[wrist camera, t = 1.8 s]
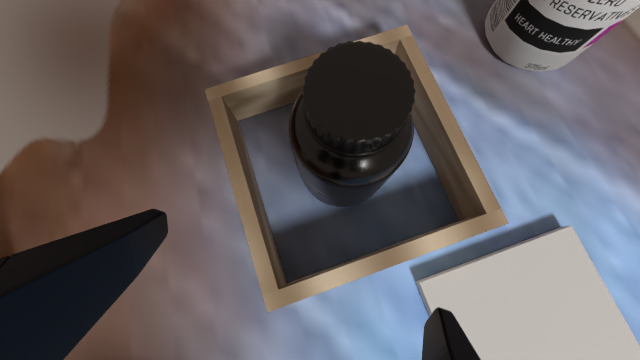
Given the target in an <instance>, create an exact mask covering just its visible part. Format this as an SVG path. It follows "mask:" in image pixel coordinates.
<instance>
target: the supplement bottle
mask: <svg viewBox="0 0 640 360" xmlns="http://www.w3.org/2000/svg"><path fill="white" fill-rule="evenodd" d="M415 92H416V90H415V88H414V80H413V78H412V77H411V71H410V70H409V69H407V67H406V64H405V62H403V61H402V60H400V58H399V56H398V55H396V54H394V53H393V52H392V51H391V50H390V49H387V48H384V47H383V46H382V45H379V44H373V43H372V42H362V41H356V42H351V41H349V42H346V43H344V44H342V43H341V44H338V45H336V46H335V47H330V48H329V49H328V50H327V51H326V52H323V53H321V54H320V55H319V57H318V58H317V59H315V60H314V61H313V64H312V66H311V67H309V68H308V74H307V75H306V76H305V78H304V86H303V89H302V92H301V93H300V95H299V96H298V97H297V99H296V101H295V103H294V105H293V108H292V111H291V114H290V119H289V136H290V141H291V145H292V149H293V152H294V155H295V158H296V161H297V165H298V168H299V171H300V174H301V177H302V179H303V182H304V184H305V186H306V187H307V189H308V190H309V191H310V193H311V194H312V195H313V196H314V197H316V198H317V199H318V200H320V201H321V202H323V203H326V204H328V205H331V206H336V207H350V206H355V205H358V204H360V203H363V202H364V201H366V200H368V199H369V198H370V197H371V196H373V195H374V194H375V193H376V192H377V191H378V190H379V189H380V187H381V186H382V185H383V184H384V183H385V182H386V181H387V180H388V179H389V178H390V177H391V176H392V174H393V173H394V172H395V171H396V170H397V169H398V168H399V167H400V165H401V164H402V163H403V161H404V160H405V158H406V156H407V155H408V153H409V150H410V148H411V145H412V141H413V135H414V122H413V116H412V107H413V105H414V103H415V98H414V95H415Z"/></svg>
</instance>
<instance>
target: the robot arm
mask: <svg viewBox="0 0 640 360" xmlns="http://www.w3.org/2000/svg"><path fill="white" fill-rule="evenodd" d="M167 233H168V224H167V215H166V213H165V212H163V211H160V210H157V209H150V210H147V211H144V212H141V213H138V214H135V215H132V216H129V217H126V218H123V219H120V220H117V221H114V222H111V223H107V224H104V225H101V226H98V227H95V228H92V229H89V230H86V231H83V232H80V233H77V234H74V235H71V236H68V237H65V238H62V239H59V240H55V241H52V242H49V243H46V244H43V245H40V246H37V247H34V248H31V249H28V250H25V251H22V252H19V253H16V254H13V255H11V256H6V257H3V258H0V360H63V359H64V358H65V357H66V356H67V355H68V354H69V353H70V352H71V350H72V349H73V348H74V347H75V346H76V345H77V344H78V343H79V341H80V340H81V339H82V338H83V337H84V336H85V335H86V334H87V332H88V331H89V330H90V329H91V328H92V327H93V326H94V325H95V323H96V322H97V321H98V320H99V319H100V318H101V317H102V316H103V314H104V313H105V312H106V311H107V310H108V309H109V308H110V307H111V305H112V304H113V303H114V302H115V301H116V300H117V299H118V298H119V296H120V295H121V294H122V293H123V292H124V291H125V290H126V289H127V287H128V286H129V285H130V284H131V283H132V282H133V281H134V279H135V278H136V277H137V276H138V275H139V273H140V272H141V271H142V269H143V268H144V267H145V265H146V264H147V263H148V261H149V260H150V258H151V257H152V256H153V254H154V253H155V252H156V250H157V249H158V247H159V246H160V245H161V243H162V242H163V241H164V239H165V238H166V236H167ZM422 360H481V359H480V357H479V356H478V354H477V352H476V351H475V349H474V347H473V346H472V344H471V342H470V341H469V339H468V338H467V336H466V334H465V333H464V331H463V329H462V328H461V326H460V324H459V323H458V321H457V319H456V318H455V316H454V314H453V313H452V312H451V311H449V310H446V309H443V308H440V307H437V308H436V309H435V310H434V311H433V313H432V314H431V316H430V317H429V318H428V320H427V321H426V323H425V326H424V336H423V350H422Z"/></svg>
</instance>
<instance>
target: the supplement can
mask: <svg viewBox="0 0 640 360" xmlns="http://www.w3.org/2000/svg"><path fill="white" fill-rule="evenodd" d="M639 7H640V0H495V2H494V3H493V5H492V6H491V8H490V9H489V11H488V14H487V17H486V20H485V33H486V37H487V39H488V42H489V43H490V45H491V47H492V49H493V51H494V53H496V54H497V55H498V56H499V57H500V58H501V59H502V60H503V61H504V62H506V63H508V64H510V65H512V66H514V67H516V68H520V69H525V70H531V71H537V72H540V71H548V70H555V69H557V68H559V67H561V66H563V65H565V64H567V63H569V62H570V61H572V60H573V59H574V58H575V57H577V56H578V55H579V54H581V53H582V52H583V51H584V50H586V49H587V48H588V47H589V46H591V45H592V44H593V43H594V42H596V41H597V40H598V39H600V38H601V37H602V36H603V35H605V34H606V33H607V32H608V31H610V30H611V29H612V28H614V27H615V26H616V25H617V24H619V23H620V22H621V21H622V20H624V19H625V18H626V17H627V16H629V15H630V14H631V13H632V12H634V11H635V10H636V9H638V8H639Z"/></svg>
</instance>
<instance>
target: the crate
mask: <svg viewBox="0 0 640 360" xmlns="http://www.w3.org/2000/svg"><path fill="white" fill-rule="evenodd" d="M357 41H362V42H372V43H373V44H379V45H382V46H383V47H384V48H387V49H390V50H391V51H392V52H393V53H394V54H396V55H398V56H399V58H400V60H402V61H403V62H405V64H406V67H407V69H409V70H410V71H411V77H412V78H413V80H414V88H415V90H416V92H415V95H414V98H415V103H414V105H413V107H412V116H413V122H414V125H415V127H416V129H417V132H418V134H419V136H420V138H421V140H422V142H423V144H424V147H425V149H426V151H427V153H428V155H429V157H430V159H431V161H432V164H433V166H434V168H435V170H436V172H437V174H438V176H439V178H440V181H441V183H442V185H443V187H444V189H445V191H446V193H447V195H448V198H449V200H450V202H451V204H452V206H453V208H454V210H455V212H456V215H457V217H458V219H459V221H456V222H453V223H451V224H448V225H445V226H442V227H440V228H437V229H434V230H431V231H429V232H426V233H423V234H420V235H418V236H415V237H412V238H410V239H407V240H404V241H401V242H399V243H396V244H393V245H390V246H388V247H385V248H382V249H379V250H377V251H374V252H371V253H368V254H366V255H363V256H360V257H357V258H355V259H352V260H349V261H347V262H344V263H341V264H338V265H336V266H333V267H330V268H327V269H325V270H322V271H319V272H316V273H314V274H311V275H308V276H305V277H303V278H300V279H297V280H294V281H292V282H289V283H287V281H286V278H285V274H284V271H283V268H282V264H281V261H280V258H279V255H278V251H277V248H276V245H275V241H274V238H273V235H272V231H271V228H270V225H269V222H268V218H267V215H266V212H265V208H264V205H263V202H262V199H261V195H260V192H259V189H258V185H257V182H256V179H255V176H254V172H253V169H252V166H251V162H250V159H249V156H248V152H247V149H246V146H245V143H244V139H243V136H242V133H241V129H240V126H239V123H238V121H239V120H242V119H245V118H248V117H251V116H254V115H257V114H260V113H263V112H266V111H269V110H272V109H275V108H278V107H281V106H285V105H288V104H291V103H294V102H295V101H296V99H297V97H298V96H299V95H300V93H301V92H302V89H303V86H304V78H305V76H306V75H307V74H308V68H309V67H311V66H312V64H313V61H314V60H315V59H317V58H318V57H319V55H320V54H321V53H323V52H326V51H327V50H326V51H323V52H320V53H316V54H313V55H310V56H307V57H304V58H301V59H298V60H295V61H291V62H288V63H285V64H282V65H279V66H276V67H273V68H270V69H266V70H263V71H260V72H257V73H254V74H251V75H248V76H244V77H241V78H238V79H235V80H232V81H229V82H226V83H223V84H219V85H216V86H213V87H210V88H207V89H205V92H206V95H207V99H208V102H209V106H210V110H211V113H212V117H213V120H214V124H215V127H216V131H217V135H218V138H219V142H220V145H221V149H222V152H223V156H224V159H225V163H226V167H227V170H228V174H229V177H230V181H231V184H232V188H233V192H234V195H235V199H236V202H237V206H238V209H239V213H240V216H241V220H242V224H243V227H244V231H245V234H246V238H247V241H248V245H249V249H250V252H251V256H252V259H253V263H254V266H255V270H256V273H257V277H258V281H259V284H260V288H261V291H262V295H263V298H264V302H265V306H266V309H267V312H270V311H272V310H275V309H278V308H281V307H283V306H286V305H289V304H291V303H294V302H297V301H299V300H302V299H305V298H308V297H310V296H313V295H316V294H318V293H321V292H324V291H327V290H329V289H332V288H335V287H337V286H340V285H343V284H345V283H348V282H351V281H354V280H356V279H359V278H362V277H364V276H367V275H370V274H373V273H375V272H378V271H381V270H383V269H386V268H389V267H391V266H394V265H397V264H400V263H402V262H405V261H408V260H410V259H413V258H416V257H418V256H421V255H424V254H427V253H429V252H432V251H435V250H437V249H440V248H443V247H446V246H448V245H451V244H454V243H456V242H459V241H462V240H464V239H467V238H470V237H473V236H475V235H478V234H481V233H483V232H486V231H489V230H492V229H494V228H497V227H500V226H502V225H505V224H508V221H507V219H506V217H505V215H504V213H503V211H502V209H501V207H500V205H499V203H498V201H497V199H496V197H495V196H494V194H493V192H492V190H491V188H490V186H489V184H488V182H487V180H486V178H485V176H484V174H483V172H482V170H481V168H480V166H479V164H478V162H477V160H476V158H475V156H474V155H473V153H472V151H471V149H470V147H469V145H468V143H467V141H466V139H465V137H464V135H463V133H462V131H461V129H460V127H459V125H458V123H457V121H456V119H455V117H454V115H453V114H452V112H451V110H450V108H449V106H448V104H447V102H446V100H445V98H444V96H443V94H442V92H441V90H440V88H439V86H438V84H437V82H436V80H435V78H434V76H433V74H432V73H431V71H430V69H429V67H428V65H427V63H426V61H425V59H424V57H423V55H422V53H421V51H420V49H419V47H418V45H417V43H416V41H415V39H414V37H413V35H412V33H411V32H410V30H409V28H408V26H407V25H404V26H401V27H398V28H395V29H392V30H389V31H385V32H382V33H379V34H376V35H373V36H370V37H367V38H363V39H360V40H357ZM354 42H356V41H354Z"/></svg>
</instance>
